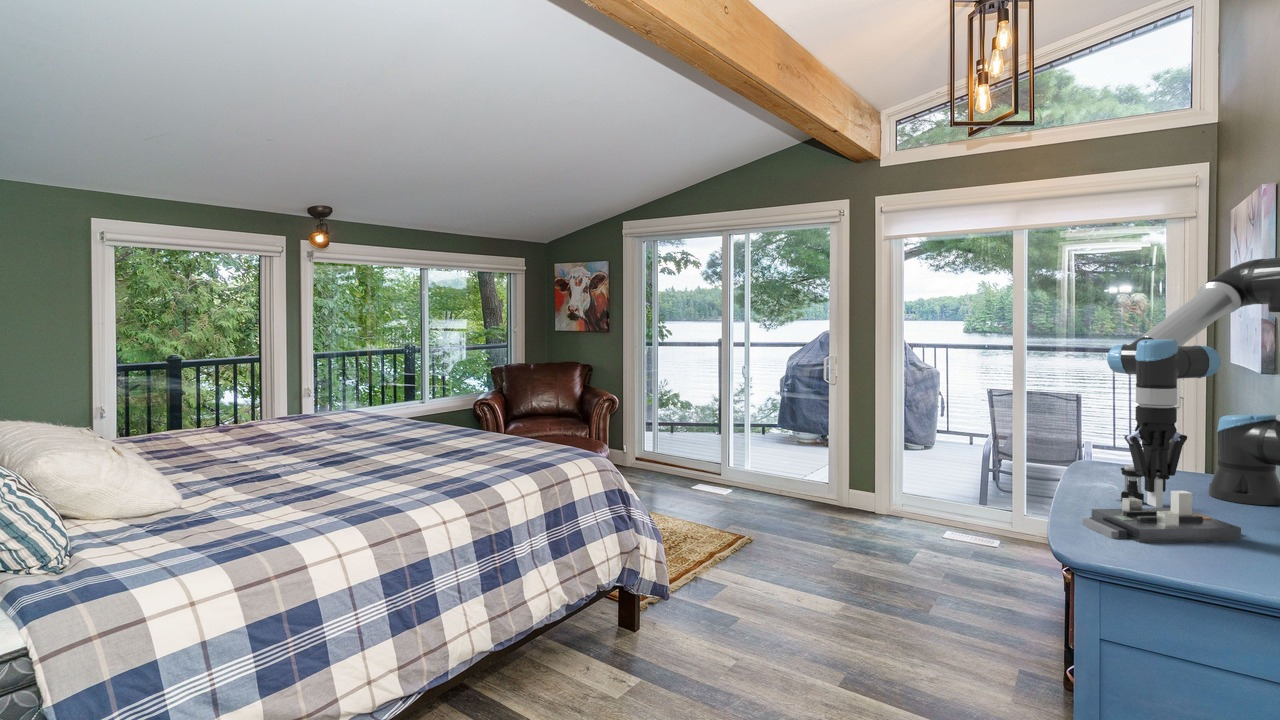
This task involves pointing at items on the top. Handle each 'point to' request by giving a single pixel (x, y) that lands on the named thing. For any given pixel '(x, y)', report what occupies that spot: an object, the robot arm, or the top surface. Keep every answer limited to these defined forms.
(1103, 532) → the narrow gray bar
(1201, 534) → the panel
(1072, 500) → the top surface
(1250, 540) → the top surface
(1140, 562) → the top surface
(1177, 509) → the lever
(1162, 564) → the top surface
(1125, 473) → the push button
